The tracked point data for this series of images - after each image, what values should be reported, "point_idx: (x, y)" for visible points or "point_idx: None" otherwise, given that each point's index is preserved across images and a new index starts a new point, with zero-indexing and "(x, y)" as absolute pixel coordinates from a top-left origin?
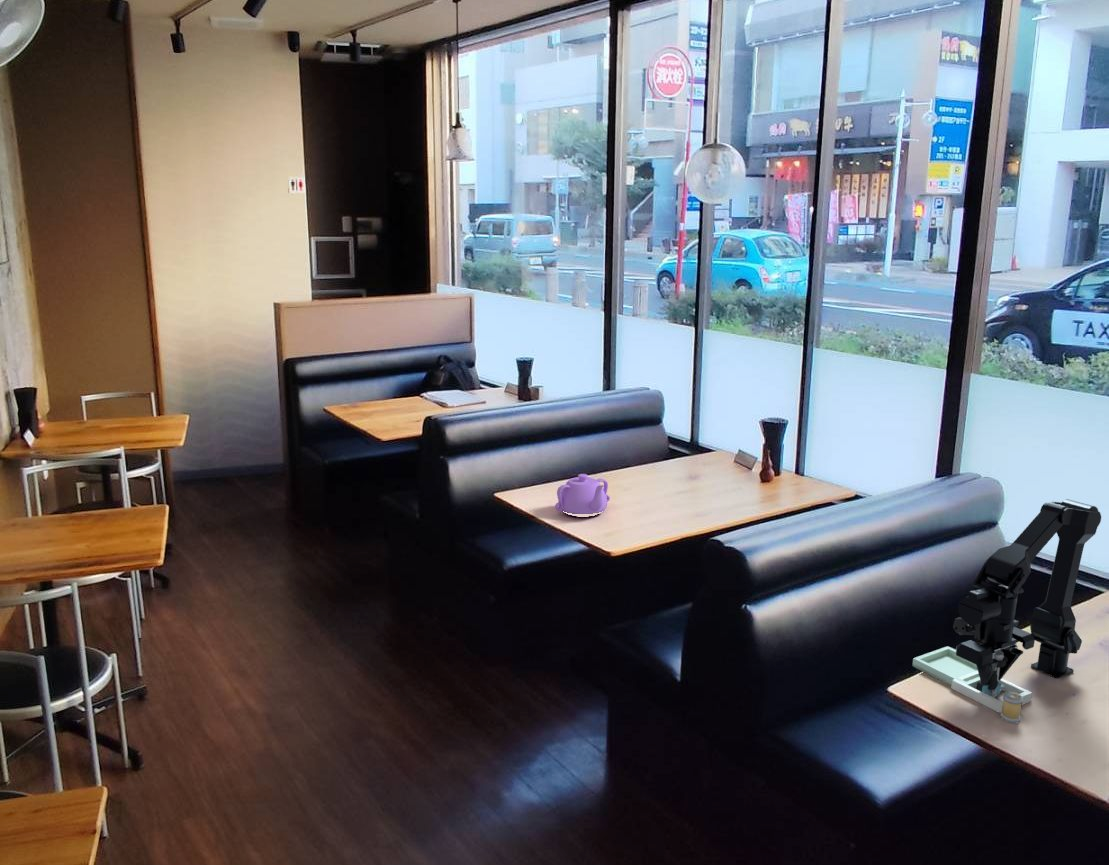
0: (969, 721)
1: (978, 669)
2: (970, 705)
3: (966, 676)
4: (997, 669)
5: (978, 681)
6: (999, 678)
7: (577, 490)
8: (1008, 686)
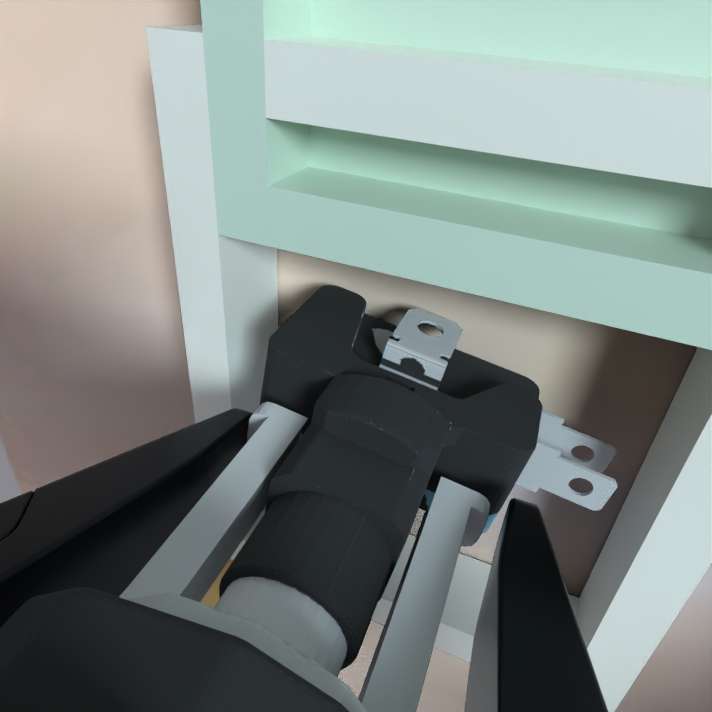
0: (29, 380)
1: (26, 507)
2: (155, 317)
3: (407, 101)
4: (367, 673)
5: (436, 278)
6: (494, 556)
7: None
8: (628, 543)
